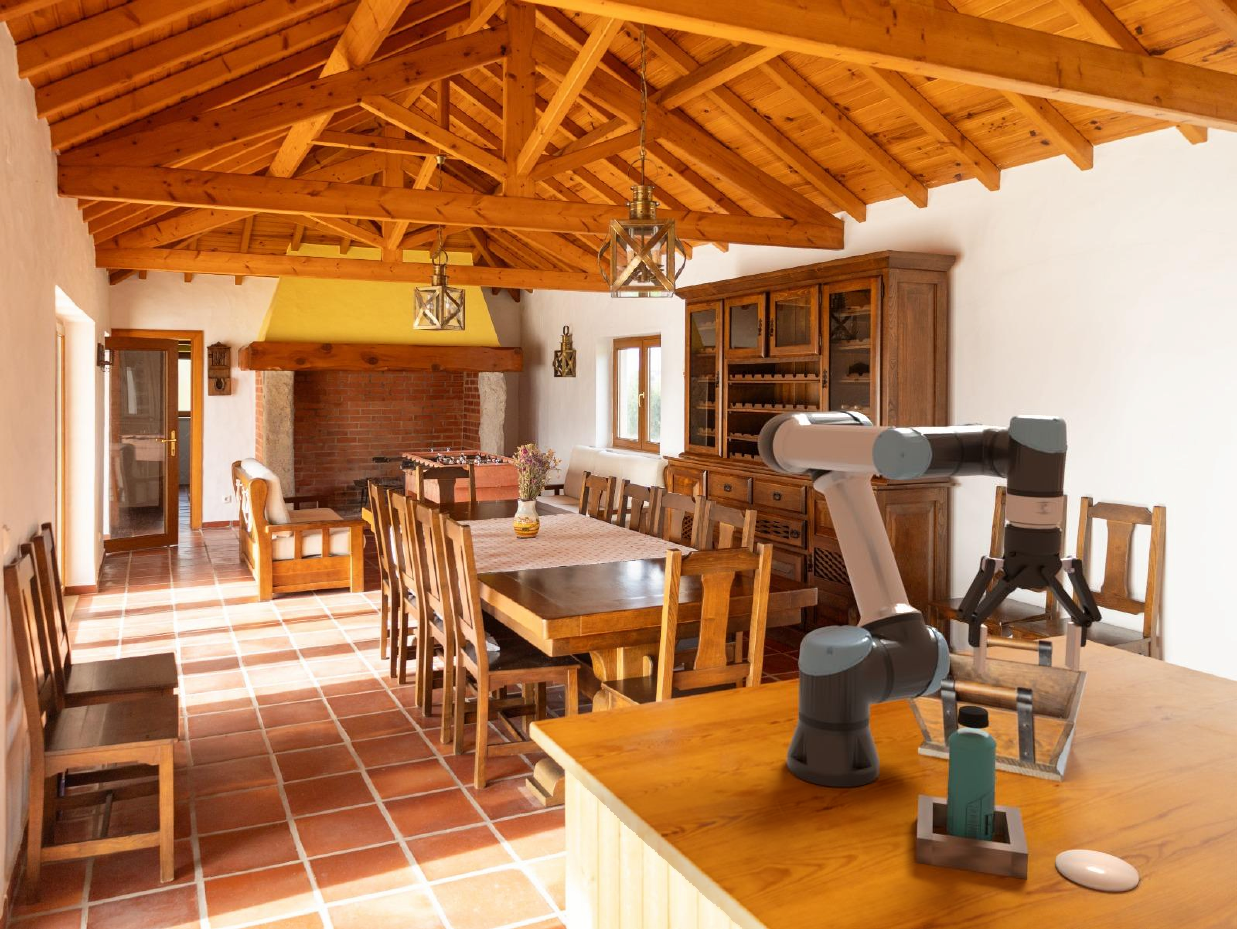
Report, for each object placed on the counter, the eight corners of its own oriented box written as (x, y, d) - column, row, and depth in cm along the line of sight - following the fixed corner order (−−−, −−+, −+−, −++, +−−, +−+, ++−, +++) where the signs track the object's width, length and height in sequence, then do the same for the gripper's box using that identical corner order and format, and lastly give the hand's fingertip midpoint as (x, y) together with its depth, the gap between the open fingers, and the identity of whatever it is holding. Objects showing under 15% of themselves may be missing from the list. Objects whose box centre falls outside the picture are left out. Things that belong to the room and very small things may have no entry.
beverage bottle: (988, 862, 132) (994, 720, 130) (939, 849, 136) (943, 711, 134) (998, 842, 138) (1004, 706, 136) (950, 830, 141) (955, 697, 139)
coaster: (1060, 883, 127) (1060, 880, 127) (1051, 848, 136) (1051, 844, 136) (1145, 896, 124) (1145, 893, 123) (1130, 859, 133) (1131, 855, 133)
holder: (916, 862, 132) (916, 837, 132) (918, 817, 145) (918, 794, 145) (1027, 878, 128) (1028, 853, 128) (1018, 831, 141) (1019, 807, 141)
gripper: (956, 528, 134) (949, 676, 137) (1133, 528, 135) (1124, 676, 137) (937, 519, 142) (931, 660, 144) (1105, 519, 142) (1097, 660, 145)
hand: (1025, 668), depth 141 cm, fingers open, 13 cm apart
